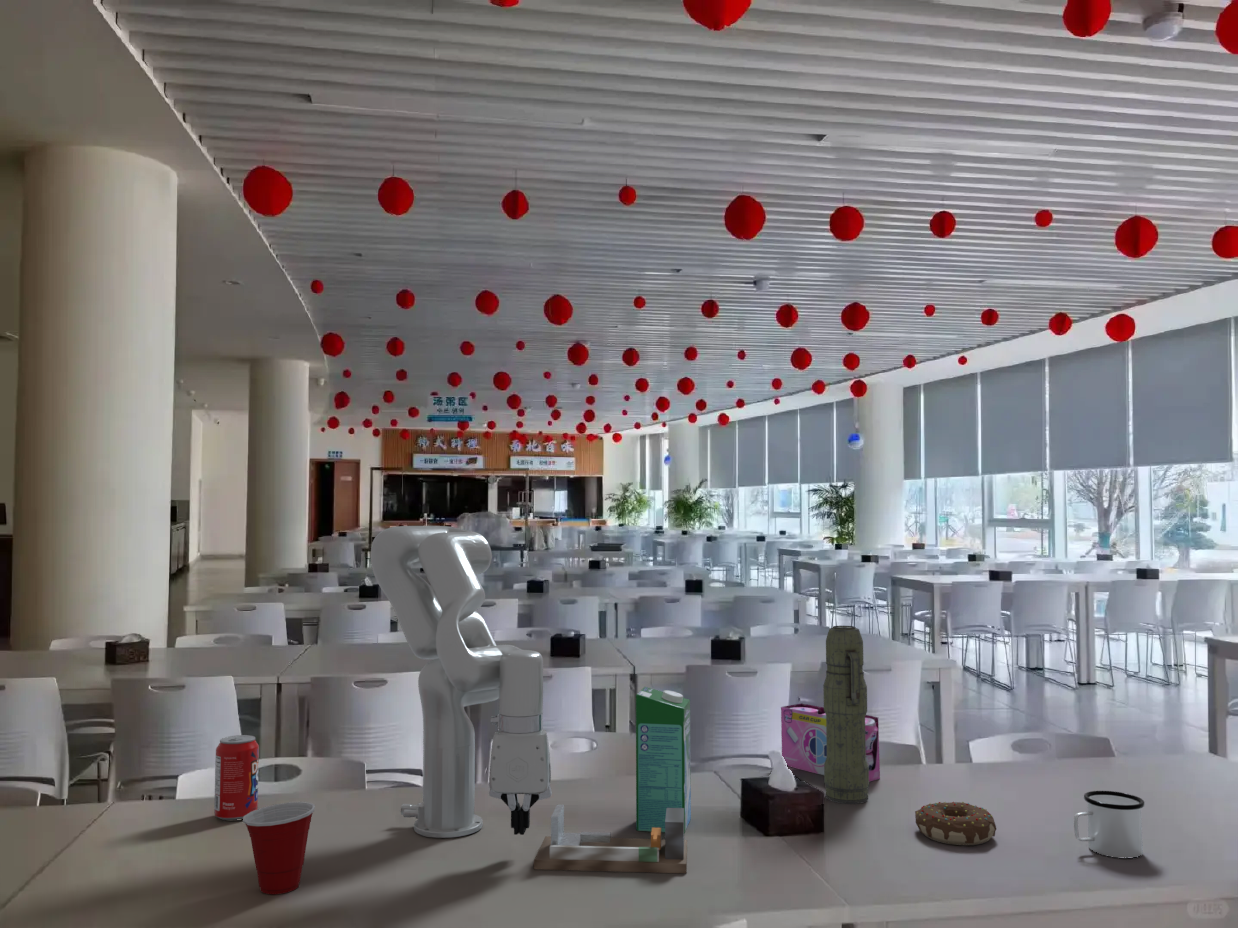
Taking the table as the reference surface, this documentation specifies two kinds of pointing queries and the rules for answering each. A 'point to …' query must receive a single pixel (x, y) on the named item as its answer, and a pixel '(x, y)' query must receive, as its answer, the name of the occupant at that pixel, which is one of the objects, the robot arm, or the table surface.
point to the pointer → (656, 838)
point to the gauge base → (621, 852)
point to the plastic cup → (279, 844)
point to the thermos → (845, 717)
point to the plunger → (572, 838)
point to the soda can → (236, 777)
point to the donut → (955, 823)
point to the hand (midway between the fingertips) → (520, 832)
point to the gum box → (819, 739)
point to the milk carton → (662, 757)
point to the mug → (1113, 823)
